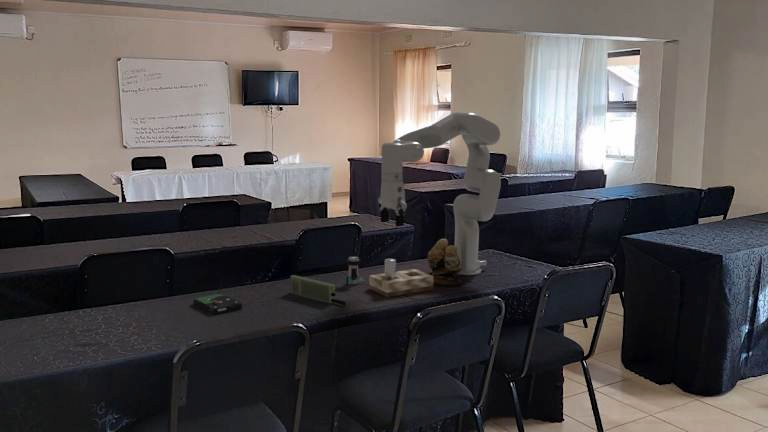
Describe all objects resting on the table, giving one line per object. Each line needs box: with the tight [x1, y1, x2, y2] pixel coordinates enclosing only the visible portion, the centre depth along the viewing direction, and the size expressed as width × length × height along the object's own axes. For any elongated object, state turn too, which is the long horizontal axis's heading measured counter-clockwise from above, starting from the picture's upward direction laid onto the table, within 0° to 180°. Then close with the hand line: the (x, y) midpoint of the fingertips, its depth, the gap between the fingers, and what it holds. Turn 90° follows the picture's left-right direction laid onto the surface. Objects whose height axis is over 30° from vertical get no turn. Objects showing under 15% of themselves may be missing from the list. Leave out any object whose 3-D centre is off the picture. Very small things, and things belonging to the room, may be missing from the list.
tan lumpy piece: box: [427, 238, 462, 288], centre depth 253 cm, size 18×12×17 cm, turn 37°
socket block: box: [368, 268, 434, 298], centre depth 243 cm, size 20×12×5 cm, turn 122°
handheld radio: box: [289, 274, 347, 306], centre depth 229 cm, size 7×3×25 cm
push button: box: [345, 256, 364, 286], centre depth 249 cm, size 7×5×10 cm
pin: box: [383, 258, 397, 280], centre depth 239 cm, size 4×4×10 cm
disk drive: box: [193, 292, 243, 316], centre depth 219 cm, size 10×3×15 cm
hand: (392, 223), depth 242 cm, fingers open, 9 cm apart
